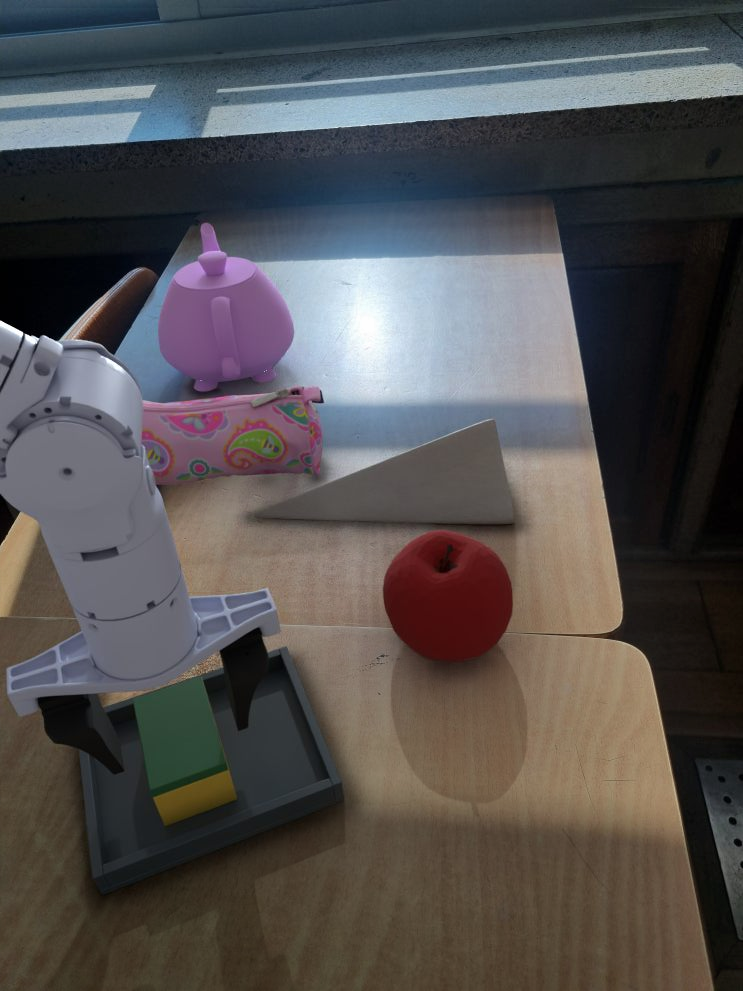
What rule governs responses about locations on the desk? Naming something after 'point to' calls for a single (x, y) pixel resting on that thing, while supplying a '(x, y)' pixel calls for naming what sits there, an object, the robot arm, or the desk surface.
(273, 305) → the teapot
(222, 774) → the sponge
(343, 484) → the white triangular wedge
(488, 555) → the apple
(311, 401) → the pencil case
